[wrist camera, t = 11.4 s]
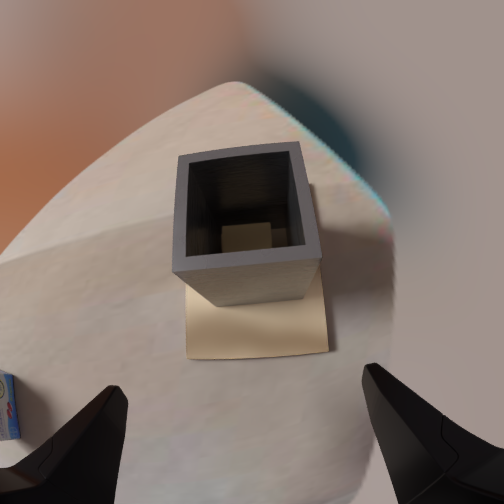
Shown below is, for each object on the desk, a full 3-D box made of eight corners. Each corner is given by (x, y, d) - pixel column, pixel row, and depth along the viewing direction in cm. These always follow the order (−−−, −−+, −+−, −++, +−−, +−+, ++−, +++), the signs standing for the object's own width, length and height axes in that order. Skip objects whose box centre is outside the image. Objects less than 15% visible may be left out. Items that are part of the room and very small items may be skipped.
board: (325, 351, 19) (337, 350, 15) (192, 358, 20) (171, 359, 16) (304, 188, 24) (308, 156, 20) (194, 198, 25) (179, 169, 21)
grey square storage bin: (302, 299, 20) (322, 257, 11) (215, 306, 20) (172, 271, 11) (292, 220, 22) (299, 141, 13) (213, 228, 22) (178, 155, 14)
